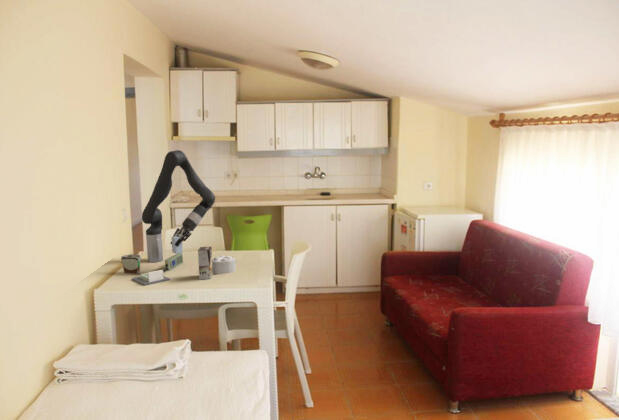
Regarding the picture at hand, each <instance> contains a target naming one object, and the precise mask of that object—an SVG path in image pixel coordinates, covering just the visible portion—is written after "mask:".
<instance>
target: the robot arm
mask: <svg viewBox="0 0 619 420" xmlns="http://www.w3.org/2000/svg"><path fill="white" fill-rule="evenodd" d="M177 167H179V168H181V169H182V171H183V173H184V174H185V176H186V180H187V183H188V185H189V186H190V187H191V189H193V191H194V192H195V193H196V194H197V195H199V196H200V198H201V201H200V202H199V203H198V204H197V205H196V206H195V207H194V208H193V209H192V210H191V211H190V213H189V214H188V215H187V216H186V218H185V219H184V220H183V222H181V224H182V227H181V228H180V227H179V228H176V230H175V232H174V233H173V235H172V237H174V236H180V238H179V239H178V240H177V242H176V243H175V246H177V247H178V246H179V245H180V243H181V242H182V243H183V242H186V241H187V240H188V239H189V237H191V235H192V234H193V233H192V232H194V230H195V229H196V228H197V227H198V225H199V224H200V223H201V221H202V220H203V218H204V217H205V215H206V214H207V212H208V211H209V210H210V209H211V208H212V207H213V205H215V203H216V202H215V201H216V196H215V194H214V192H213V191H212V190H211V189H210V188H209V187H207V186H206V184H205V183H204V182H203V181H202V179H201V178H200V177H199V175H198V174H197V173H196V171H195V169H194V168H193V166H192V164H191V163H190V161H189V159H188V157H187V156H186V154H185V152H184V151H182V150H178V149H176V150H172V151H169V152H167V154H166V155H165V157H164V160H163V164H162V167H161V170H160V173H159V174H158V175H159V176H158V178H157V180H156V182H155V185H154V187H153V191H152V194H151V195H150V197H149V200H148V202H147V203H146V205H145V207H144V209H143V211H142V213H141V214H142V215H141V221H142V222H143V223H144V224H146V225H150V226H149V227H148V228H147V229H145V237H146V239H145V241H146V253H147V263H148V262H149V263H157V262H162V261H164V254H163V252H164V251H163V239H162V230H163V215H162V211H161V209H159V206H160V205H161V204H162V203H163V202H164V201H165V200H166V199H167V198H168V196H169V194H170V192H171V190H172V187H173V179H172V177H173V174H174V171H175V169H176V168H177ZM170 245H172V240H171V241H170Z"/></svg>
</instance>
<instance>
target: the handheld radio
mask: <svg viewBox="0 0 619 420" xmlns="http://www.w3.org/2000/svg"><path fill="white" fill-rule="evenodd" d="M183 263H184V257H183V253H177V254H174V255H172V256H170V257H169V258H166V259H164V266H165V268H164V269H162V270H163V273H165V272H167V271H168V272H169V271H171V270H172V269H175V268H176V267H178V266H180V265H182V264H183Z"/></svg>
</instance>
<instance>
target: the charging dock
mask: <svg viewBox="0 0 619 420" xmlns="http://www.w3.org/2000/svg"><path fill="white" fill-rule="evenodd" d="M163 270H164V269H160V270H154V271H149V272H147V273H140V274H139V276H136V277H131V280H132V281H133V282H136V283H138V284H140V285H142V286H150V285H154V284H159V283H164V282H168V281H170V280H171V279H170V277H167V276H165V275H164V272H163Z"/></svg>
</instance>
